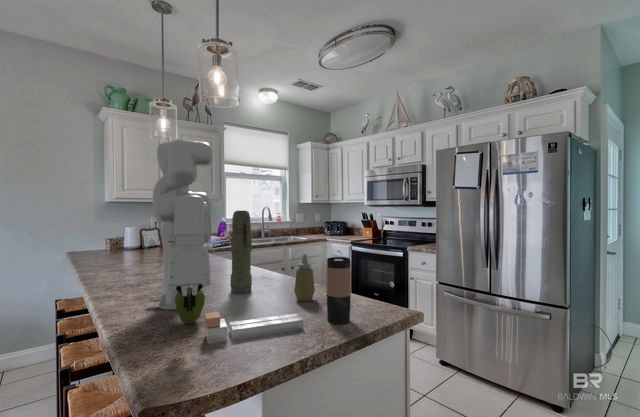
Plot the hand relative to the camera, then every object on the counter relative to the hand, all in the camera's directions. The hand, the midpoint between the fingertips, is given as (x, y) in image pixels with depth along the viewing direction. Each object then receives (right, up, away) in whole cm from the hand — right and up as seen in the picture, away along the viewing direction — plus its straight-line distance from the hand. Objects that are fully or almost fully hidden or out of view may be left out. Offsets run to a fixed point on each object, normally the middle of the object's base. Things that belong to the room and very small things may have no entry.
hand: (189, 309), depth 85 cm
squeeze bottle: (+29, -9, +40) cm, 50 cm away
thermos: (+1, -9, +52) cm, 53 cm away
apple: (-6, -9, +15) cm, 18 cm away
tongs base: (+16, -9, +8) cm, 20 cm away
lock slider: (+5, -5, +3) cm, 8 cm away
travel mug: (+41, -9, +17) cm, 45 cm away
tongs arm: (+19, -9, +11) cm, 23 cm away
